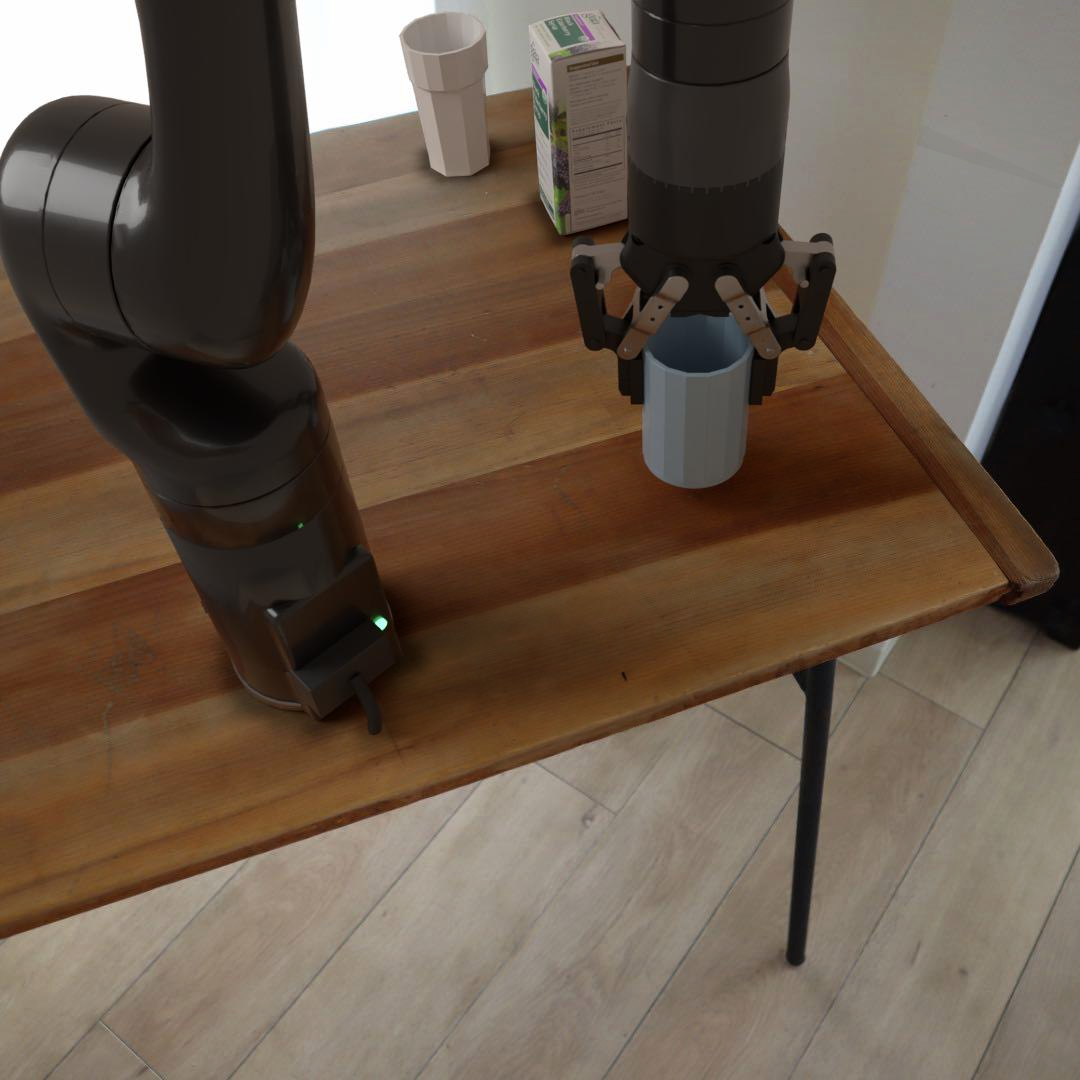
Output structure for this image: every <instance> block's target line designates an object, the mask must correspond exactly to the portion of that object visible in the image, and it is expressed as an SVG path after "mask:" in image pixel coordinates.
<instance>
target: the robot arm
mask: <svg viewBox="0 0 1080 1080" xmlns="http://www.w3.org/2000/svg"><path fill="white" fill-rule="evenodd" d="M794 1H795V0H630V16H631V17H630V19H631V21H630V23H631V25H630V26H631V51H630V52H631V55H630V68H629V72H628V73H629V74H628V81H627V115H626V125H627V204H628V228H627V230H626V232H625V233H624V235H623V236H622V238H621V241H620V242H611V243H603V244H596V242H595V241H594V239H593V238H592V237H590V236H588V235H579V236H577V237H576V238H575V239H574V240H573V241H572V246H571V247H572V248H571V257H570V266H569V277H570V282H571V285H572V290H573V295H574V301H575V304H576V310H577V314H578V315H577V316H578V319H579V320H578V321H579V325H580V328H581V335H582V338H583V343H584V347H586V349H587V350H589V351H592V352H599V351H602V350H603V349H606V350H609V351H612V352H613V353H614V354H615V356H616V357H617V382H618V383H617V384H618V386H617V388H618V389H617V390H618V391H619V393H620V395H621V396H622V397H630V405H633V406H634V405H635V406H636V405H637V406H639V405H641V406H642V348H643V346H644V345H645V343H646V342H647V340H648V339H649V337H650V336H654V335H655V334H656V333H657V331H658V330H659V328H660V327H661V325H662V324H663V322H664V321H665V319H666V318H667V316H668V315H669V313H671V317H689V316H693V315H698V314H702V315H707V316H711V317H729V313H730V312H731V313H732V314H733V316H734V318H735V320H736V321H737V323H738V325H739V326H740V328H741V330H742V331H743V333H744V334H745V335H746V336H747V335H748V336H749V338H750V339H751V341H752V343H753V344H754V346H755V347H754V356H753V367H752V378H751V390H750V401H749V406H762V405H763V397H772V395H773V394H774V392H775V391H776V383H777V374H778V364H779V358H780V355H781V354H782V353H783V352H784V351H786V350H789V349H792V348H794V349H796V350H798V351H802V352H807V351H809V350H811V349H812V348H814V347H815V346H816V343H817V339H818V336H819V334H820V333H819V332H820V329H821V325H822V323H823V319H824V316H825V313H826V308H827V305H828V302H829V298H830V295H831V292H832V288H833V286H834V285H833V284H834V282H835V278H836V274H837V263H836V254H835V252H836V251H835V247H834V240H833V237H832V236H831V235H830V234H829V233H826V232H818V233H816V234H813V235H812V236H811V238H810V239H809V241H798V240H788V239H784V236H783V234H782V232H781V231H780V229H779V218H780V217H779V216H780V207H781V197H782V187H783V176H784V166H785V155H786V146H787V145H786V144H787V133H788V125H789V118H790V116H789V115H790V114H789V113H790V104H791V77H790V44H791V33H792V25H793V23H792V22H793V14H794V13H793V12H794ZM134 4H135V9H136V13H137V20H138V23H139V24H138V25H139V29H140V30H139V31H140V37H141V42H142V44H141V45H142V49H143V56H144V64H145V72H146V81H147V82H146V83H147V90H148V91H147V92H148V98H149V99H148V100H149V101H148V102H149V104H145V103H141V102H135V101H130V100H126V99H125V100H124V99H120V98H115V97H109V96H103V95H102V96H101V95H95V94H94V95H93V94H76V95H70V96H69V95H68V96H67V95H66V96H62V97H60V98H57V99H54V100H51V101H49V102H46V103H44V104H42V105H40V106H38V107H37V108H36V109H34V110H33V111H32V112H30V113H29V114H28V115H26V117H25V118H24V119H22V121H21V122H20V123H19V124H18V125H17V127H15V129H14V131H13V132H12V133H11V134H10V136H9V138H8V140H7V141H6V143H5V146H4V147H3V149H2V152H1V154H0V260H1V263H2V265H3V268H4V271H5V273H6V276H7V279H8V281H9V283H10V287H11V288H12V290H13V293H14V295H15V297H16V298H17V301H18V303H19V305H20V306H21V309H22V310H23V313H24V315H25V316H26V318H27V319H28V321H29V323H30V325H31V327H32V328H33V330H34V332H35V334H36V336H37V337H38V338H39V340H40V343H41V344H42V345H43V347H44V349H45V350H46V352H47V354H48V355H49V357H50V359H51V360H52V362H53V364H54V365H55V368H57V370H58V372H59V374H60V375H61V377H62V379H63V380H64V382H65V383H66V385H67V387H68V388H69V390H70V392H71V393H72V395H73V397H74V398H75V400H76V402H77V404H78V406H79V407H80V408H81V410H82V411H83V413H84V415H85V417H86V418H87V419H88V421H89V422H90V423H91V425H92V426H93V427H94V428H95V430H96V431H97V432H98V433H99V434H100V435H101V436H102V437H103V439H104V440H106V441H107V442H108V443H109V444H110V445H111V446H113V447H114V448H115V449H116V450H118V451H119V452H120V453H121V454H123V455H124V456H125V457H126V458H128V459H129V461H130V462H131V463H132V465H133V467H134V469H135V471H136V473H137V474H138V477H139V479H140V481H141V483H142V485H143V487H144V489H145V491H146V493H147V495H148V497H149V500H150V501H151V503H152V504H153V507H154V509H155V511H156V513H157V515H158V517H159V519H160V521H161V524H162V526H163V527H164V529H165V531H166V534H167V535H168V537H169V539H170V542H171V544H172V546H173V547H174V549H175V551H176V553H177V555H178V557H179V559H180V561H181V563H182V565H183V567H184V570H185V571H186V573H187V576H188V577H189V578H190V581H191V583H192V586H193V587H194V589H195V592H196V593H197V595H198V597H199V599H200V604H201V607H202V608H203V610H204V612H205V614H206V615H208V617H209V619H210V621H211V623H212V625H213V627H214V629H215V631H216V633H217V635H218V637H219V638H220V640H221V642H222V644H223V646H224V648H225V650H226V651H227V654H228V655H229V657H230V661H231V665H232V667H233V670H234V672H235V674H236V676H237V678H238V679H239V682H240V683H241V685H242V686H243V687H244V689H245V690H246V691H247V692H248V693H249V694H250V695H251V696H253V697H254V698H255V699H257V700H259V701H260V702H262V703H264V704H266V705H268V706H271V707H274V708H277V709H281V710H287V711H298V712H300V711H301V712H304V713H306V714H308V716H309V717H310V718H312V720H314V721H316V722H319V721H321V720H322V719H324V718H325V717H327V716H328V715H330V713H332V712H333V711H334V710H336V709H337V708H338V707H340V706H341V705H343V704H344V703H345V702H346V701H348V700H349V699H350V698H352V697H353V696H357V698H358V699H359V701H360V703H361V705H362V707H363V709H364V712H365V715H366V719H367V732H368V733H369V735H372V736H378V735H379V734H380V733H382V727H383V726H382V721H383V716H382V713H381V710H380V707H379V704H378V701H377V700H376V698H375V696H374V694H373V693H372V691H371V689H370V687H369V685H370V684H371V682H373V681H374V680H375V679H376V678H378V677H379V676H380V675H382V674H384V673H385V672H386V671H387V670H388V669H390V668H391V667H392V666H394V665H395V664H396V663H398V662H399V661H400V660H401V659H402V658H403V651H402V648H401V645H400V641H399V637H398V634H397V631H396V628H395V622H394V617H393V613H392V610H391V607H390V604H389V602H388V600H387V597H386V594H385V591H384V587H383V584H382V580H381V577H380V573H379V571H378V568H377V564H376V561H375V557H374V555H373V553H372V550H371V547H370V544H369V540H368V536H367V533H366V531H365V526H364V524H363V521H362V518H361V517H362V516H361V514H360V511H359V507H358V503H357V501H356V498H355V497H356V496H355V493H354V490H353V487H352V484H351V480H350V477H349V473H348V470H347V467H346V464H345V460H344V456H343V453H342V449H341V446H340V442H339V439H338V435H337V431H336V429H335V426H334V423H333V418H332V416H331V413H330V409H329V406H328V403H327V402H328V401H327V399H326V396H325V392H324V389H323V385H322V382H321V379H320V376H319V375H318V372H317V370H316V368H315V366H314V365H313V363H312V362H311V359H310V358H309V357H308V355H307V354H306V353H305V352H304V351H303V350H302V349H301V348H300V347H299V346H298V345H297V344H296V343H294V342H293V341H292V340H291V337H292V336H293V334H294V332H295V330H296V328H297V326H298V324H299V322H300V319H301V318H302V316H303V312H304V308H305V305H306V302H307V298H308V294H309V292H310V291H309V290H310V287H311V283H312V276H313V269H314V262H315V253H316V252H315V251H316V192H315V191H316V190H315V177H314V165H313V154H312V142H311V133H310V121H309V115H308V113H309V112H308V104H307V95H306V94H307V93H306V83H305V75H304V67H303V66H304V65H303V56H302V48H301V37H300V28H299V19H298V17H299V16H298V10H297V9H298V8H297V1H296V0H134ZM784 266H785V267H786V268H788V269H790V271H791V279H792V281H793V283H794V284H796V285H797V287H796V291H795V295H794V297H793V303H792V306H791V309H790V310H791V311H790V313H787V314H784V315H780V316H777V314H776V312H775V311H774V309H773V307H772V305H771V303H770V302H769V300H768V297H767V295H766V291H765V288H764V286H765V285H766V284H767V283H768V282H769V281H770V280H771V279H772V278H773V277H774V276H775V275H776V274H777V273H778V272H779V271H780V270H781V269H782V268H783V267H784ZM619 268H621V269H622V270H623V272H624V273H625V274H626V275H627V276H628V277H629V278H630V279H631V281H632V282H634V284H635V285H636V288H635V290H634V293H633V297H632V299H631V301H630V302H629V304H628V305H627V307H626V309H625V310H624V312H623V313H622V315H621V317H618V316H614V315H611V314H608V308H607V303H606V298H605V291H604V288H605V287H606V286H608V285H609V284H610V283H611V281H612V275H613V273H614V271H615V270H617V269H619Z"/></svg>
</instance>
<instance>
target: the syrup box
mask: <svg viewBox="0 0 1080 1080" xmlns="http://www.w3.org/2000/svg"><path fill="white" fill-rule="evenodd" d="M528 39H529V51H530V52H529V53H530V67H531V68H530V69H531V81H532V82H531V84H532V101H533V116H534V130H535V131H534V132H535V143H536V144H535V145H536V159H537V160H536V161H537V173H538V182H539V183H538V184H539V197H540V200H541V202H542V203H543V205H544V207H545V210H546V212H547V214H548V216H549V217H550V219H551V221H552V223H553V226H554V227H555V228H556V231H557V232H558V234H559V235H560V236H566V235H571V234H574V233H579V232H581V231H586V230H590V229H594V228H598V227H601V226H605V225H608V224H613V223H615V222H616V223H617V222H619V221H624V220H627V219H628V218H629V212H628V210H629V206H628V143H627V125H626V115H627V89H628V81H627V79H628V77H627V76H628V75H627V71H628V70H627V44H626V43H625V41H624V40H622V38H621V36H620V35H619V33H618V32H617V29H615V27H614V25H613V24H612V23H611V22H610V20H609V19H608V18H607V16H606V15H605V14H604V12H603V11H602V10H600V9H597V10H587V11H577V12H569V13H565V14H560V15H557V16H552V17H548V18H545V19H542V20H539V21H536V22H534V23H530V24H529V25H528Z"/></svg>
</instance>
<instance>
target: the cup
mask: <svg viewBox="0 0 1080 1080" xmlns="http://www.w3.org/2000/svg"><path fill="white" fill-rule="evenodd" d="M398 37H399V41H400V46H401V51H402V55H403V59H404V64H405V69H406V74H407V76H408V81H410V83H411V86H412V89H413V94H414V98H415V103H416V107H417V111H418V115H419V116H418V117H419V120H420V124H421V127H422V128H421V129H422V133H423V137H424V141H425V145H426V150H427V155H428V160H429V165H430V168H431V169H433V170H434V171H436V172H438V173H439V174H441V175H442V176H444V177H445V178H449V177H450V178H451V177H468V176H469V177H470V176H472V175H474V174H476V173H478V172H479V171H481V170H483V169H484V168H486V167H488V166H490V158H491V157H490V156H491V146H490V145H491V144H490V133H489V118H488V105H487V102H488V101H487V88H486V87H487V86H486V72H487V70H488V69H489V58H488V56H489V55H488V41H487V29H486V27H485V24H484V22H483V21H482V20H481V19H480V18H479V17H478V16H476V15H474V14H471V13H467V12H462V11H447V10H445V11H440V12H435V13H429V14H426V15H423V16H420V17H418V18H414V19H413V20H412V21H410V22H409V23H408V24H407V25H405V26H404V27H403V29H402V30H401V31H400V33H399V34H398Z"/></svg>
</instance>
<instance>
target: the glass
mask: <svg viewBox="0 0 1080 1080" xmlns="http://www.w3.org/2000/svg"><path fill="white" fill-rule="evenodd" d="M754 347H755V346H754V344H753V343H752V341H751V339H750V338H749V336H748V335H747V336H746V335H745V334H744V333H743V331H742V330H741V328H740V326H739V325H738V323H737V321H736V320H735V318H734V316H733V314H732V313H731V312H730V313H729V317H711V316H707V315H702V314H698V315H693V316H689V317H671V313H669V315H668V316H667V318H666V319H665V321H664V322H663V324H662V325H661V327H660V328H659V330H658V331H657V333H656V334H655V335H654V336H650V337H649V339H648V340H647V342H646V343H645V345H644V346H643V348H642V405H641V425H642V427H641V429H642V430H641V434H642V438H641V439H642V445H641V446H642V447H641V448H642V457H643V461H644V463H645V466H646V467H647V468H648V470H649V472H651V473H652V475H654V476H655V477H656V478H657V479H659V480H661V481H662V482H664V483H666V484H668V485H671V486H674V487H678V488H681V489H682V488H683V489H694V490H695V489H706V488H710V487H715V486H718V485H720V484H722V483H724V482H726V481H728V480H730V478H732V477H733V476H734V475H735V474H736V473H737V472H738V471H739V470H740V468H741V467H742V465H743V462H744V459H745V455H746V450H747V449H746V448H747V437H748V425H749V415H750V405H749V401H750V390H751V378H752V367H753V356H754Z"/></svg>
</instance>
